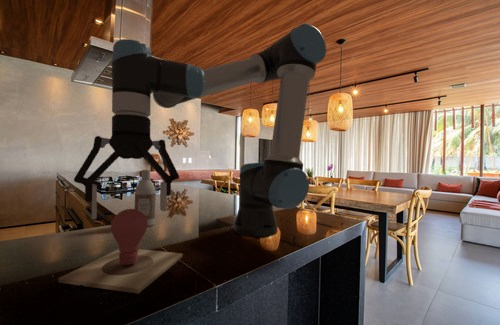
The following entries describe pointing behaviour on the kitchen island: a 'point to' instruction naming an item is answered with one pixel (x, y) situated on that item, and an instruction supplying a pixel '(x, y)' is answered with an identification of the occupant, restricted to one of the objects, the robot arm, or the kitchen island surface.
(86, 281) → the seat board
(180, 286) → the kitchen island surface
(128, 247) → the dark red bulb shape
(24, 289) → the kitchen island surface
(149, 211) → the bath foam
